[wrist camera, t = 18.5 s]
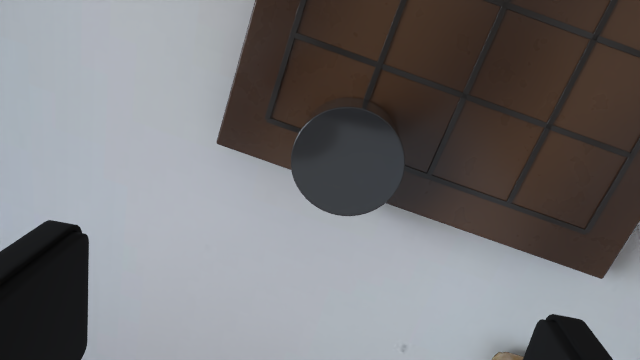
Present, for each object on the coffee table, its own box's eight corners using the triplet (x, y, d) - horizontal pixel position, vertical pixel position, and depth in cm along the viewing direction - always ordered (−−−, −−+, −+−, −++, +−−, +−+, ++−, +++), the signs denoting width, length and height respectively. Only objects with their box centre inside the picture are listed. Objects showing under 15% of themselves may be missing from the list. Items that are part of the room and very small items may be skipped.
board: (224, 136, 24) (215, 144, 23) (362, -361, 18) (362, -397, 16) (589, 264, 25) (603, 280, 24) (857, -170, 18) (901, -186, 17)
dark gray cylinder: (277, 135, 22) (267, 148, 20) (363, 75, 21) (363, 83, 19) (335, 214, 24) (332, 235, 21) (420, 162, 22) (427, 179, 20)
